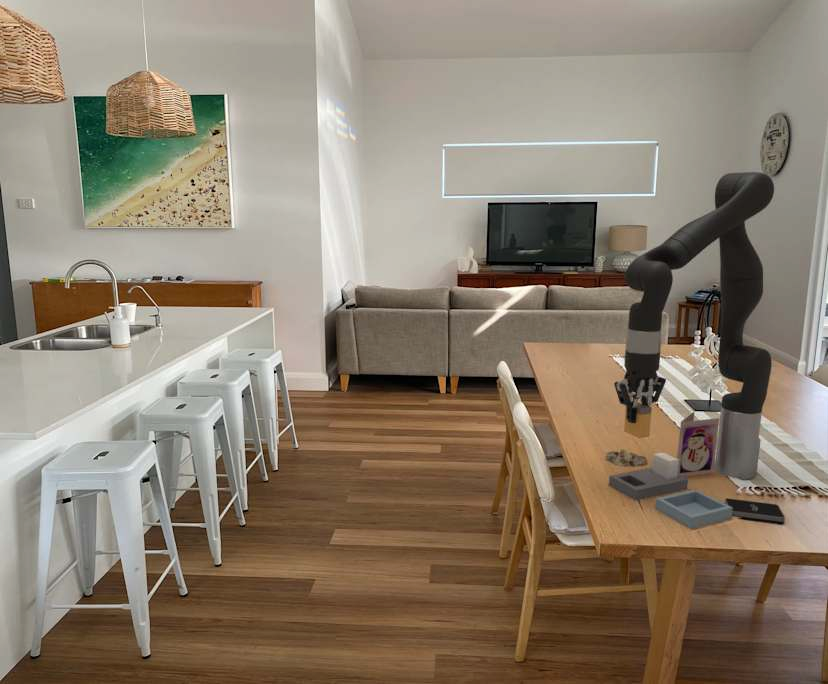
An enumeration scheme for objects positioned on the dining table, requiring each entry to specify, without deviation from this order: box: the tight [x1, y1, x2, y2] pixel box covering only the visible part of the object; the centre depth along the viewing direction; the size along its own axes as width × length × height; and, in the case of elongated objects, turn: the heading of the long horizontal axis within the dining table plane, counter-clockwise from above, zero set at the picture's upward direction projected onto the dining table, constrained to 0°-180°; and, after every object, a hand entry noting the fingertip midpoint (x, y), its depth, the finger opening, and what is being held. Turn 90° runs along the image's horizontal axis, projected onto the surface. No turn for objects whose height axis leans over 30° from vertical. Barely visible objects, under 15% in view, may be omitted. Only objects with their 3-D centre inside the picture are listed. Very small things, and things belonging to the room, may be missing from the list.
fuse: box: [652, 452, 679, 480], centre depth 156 cm, size 3×5×7 cm, turn 24°
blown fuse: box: [623, 401, 653, 439], centre depth 149 cm, size 3×5×7 cm, turn 24°
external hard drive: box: [723, 497, 786, 525], centre depth 142 cm, size 7×11×2 cm, turn 73°
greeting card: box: [676, 411, 720, 477], centre depth 164 cm, size 11×7×15 cm, turn 106°
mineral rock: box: [605, 448, 648, 467], centre depth 171 cm, size 11×4×8 cm
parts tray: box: [654, 489, 733, 531], centre depth 141 cm, size 12×10×3 cm
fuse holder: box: [608, 466, 689, 501], centre depth 155 cm, size 16×9×3 cm, turn 114°
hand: (637, 421), depth 149 cm, fingers closed on blown fuse, 3 cm apart
